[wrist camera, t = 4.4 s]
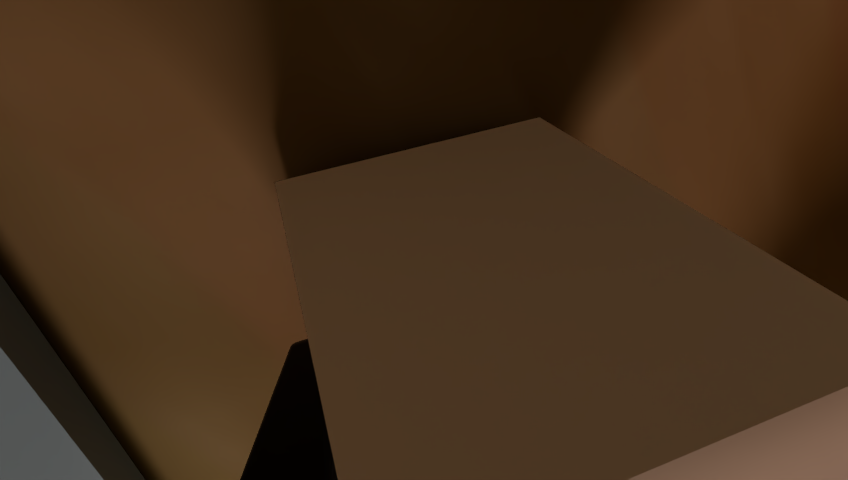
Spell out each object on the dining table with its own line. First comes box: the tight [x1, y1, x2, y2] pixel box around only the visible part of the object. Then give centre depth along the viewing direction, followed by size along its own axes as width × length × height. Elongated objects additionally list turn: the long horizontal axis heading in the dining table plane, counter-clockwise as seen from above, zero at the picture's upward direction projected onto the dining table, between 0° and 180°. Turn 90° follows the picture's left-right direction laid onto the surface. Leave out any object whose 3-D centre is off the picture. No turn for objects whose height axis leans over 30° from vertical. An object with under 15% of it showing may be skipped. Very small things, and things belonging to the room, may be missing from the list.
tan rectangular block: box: [275, 117, 848, 480], centre depth 7 cm, size 4×4×6 cm
